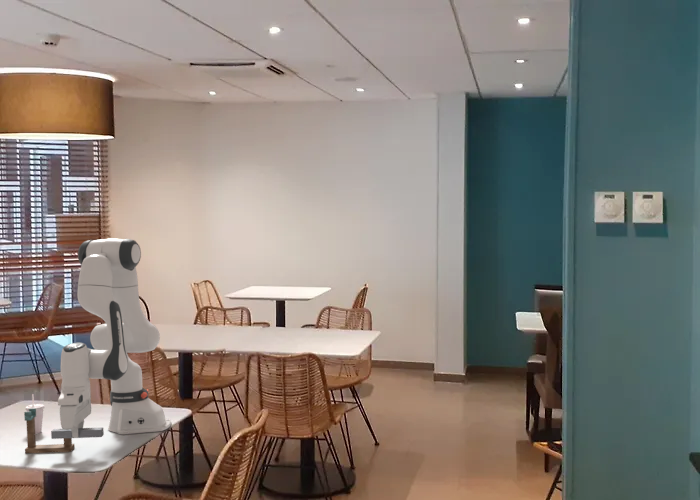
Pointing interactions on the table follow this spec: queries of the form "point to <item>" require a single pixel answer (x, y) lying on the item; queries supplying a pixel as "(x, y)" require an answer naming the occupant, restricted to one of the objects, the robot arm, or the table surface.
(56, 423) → the table surface
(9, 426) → the table surface
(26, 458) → the table surface
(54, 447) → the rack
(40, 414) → the smoothie
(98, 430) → the rail
